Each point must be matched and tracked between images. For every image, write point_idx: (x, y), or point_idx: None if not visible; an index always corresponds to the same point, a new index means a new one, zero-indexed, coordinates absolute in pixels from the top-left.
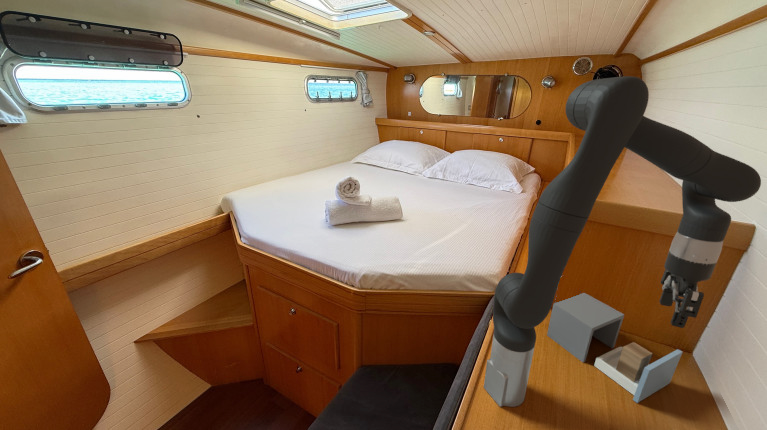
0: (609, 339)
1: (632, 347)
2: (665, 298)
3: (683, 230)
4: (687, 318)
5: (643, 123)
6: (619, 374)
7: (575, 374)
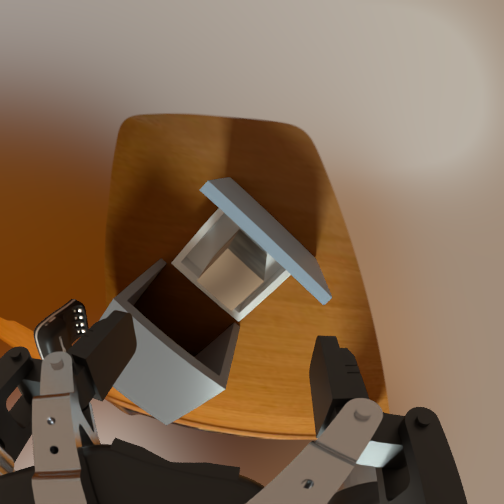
0: (154, 276)
1: (224, 290)
2: (116, 362)
3: None
4: (348, 377)
5: None
6: (273, 290)
7: (279, 342)
